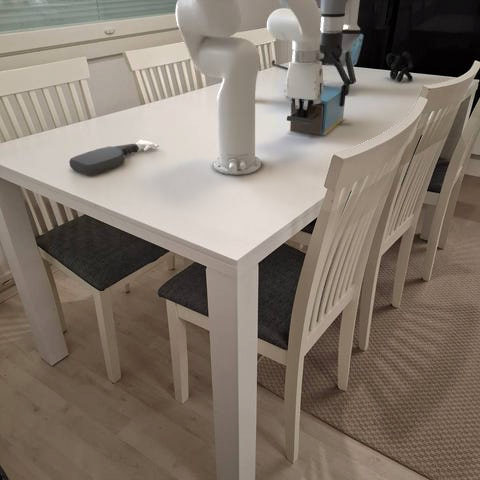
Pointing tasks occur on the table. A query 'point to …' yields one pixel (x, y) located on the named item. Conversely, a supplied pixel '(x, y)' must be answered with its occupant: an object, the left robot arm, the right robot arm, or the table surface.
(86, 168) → the spray bottle
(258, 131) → the table surface
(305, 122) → the drawer
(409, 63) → the squiggle
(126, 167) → the table surface
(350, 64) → the right robot arm
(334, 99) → the cabinet
